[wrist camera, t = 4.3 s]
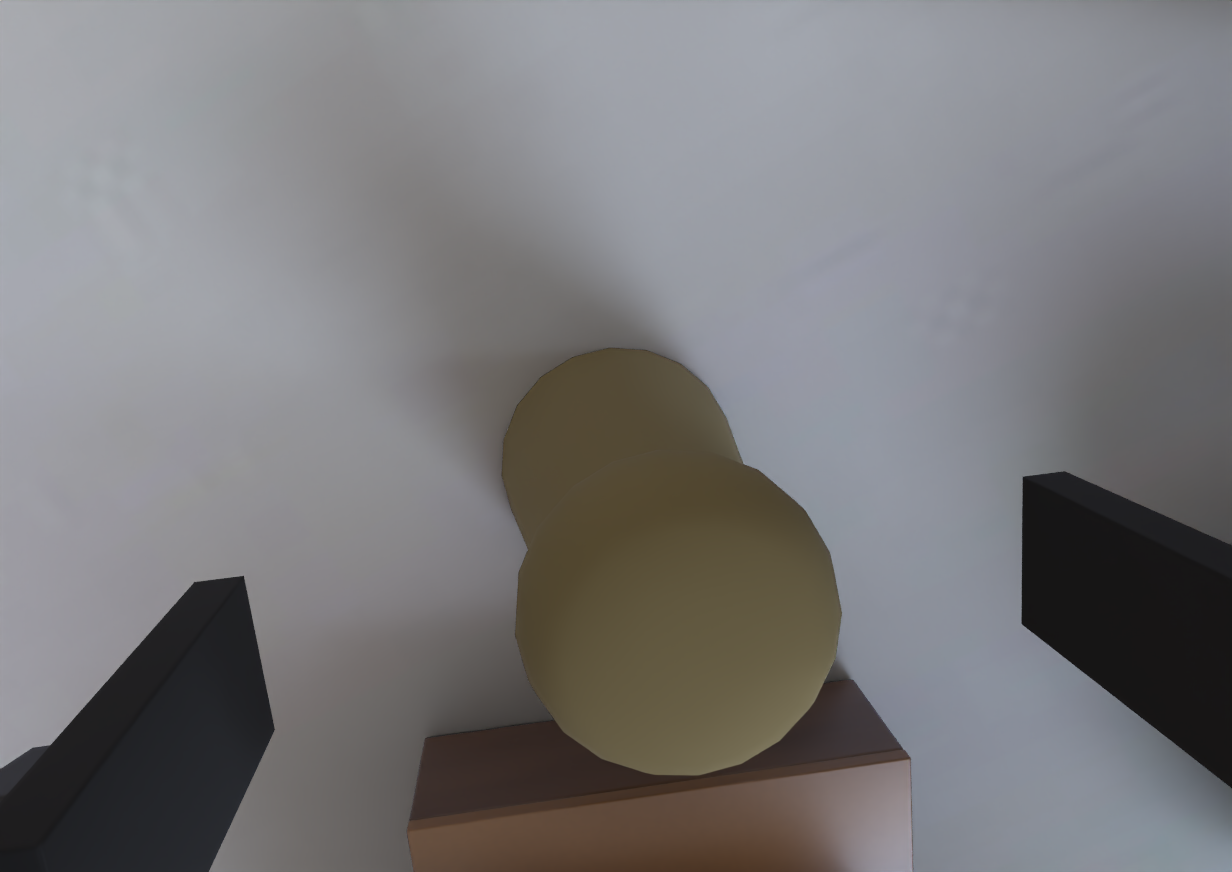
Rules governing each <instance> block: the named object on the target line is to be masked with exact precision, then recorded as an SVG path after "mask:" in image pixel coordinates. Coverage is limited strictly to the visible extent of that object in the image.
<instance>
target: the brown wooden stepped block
mask: <svg viewBox="0 0 1232 872" xmlns="http://www.w3.org/2000/svg"><path fill="white" fill-rule="evenodd" d="M407 836H408V842H409V848H410V854H411V860H412V865H413V871H414V872H913V843H912V799H911V758H910V757H909V755H908V754H907V752H906V751H905V750H903V748H902V747H901V745H900V744H899V742H898V741H897V740H896V738H895V737H894V736H893V734H892V733H891V731H890V730H889V729H888V727H887V726H886V724H885V723H884V722H883V720H882V719H881V718H880V716H879V715H878V713H877V712H876V711H875V709H874V708H873V706H872V705H871V704H870V702H869V701H868V700H867V698H866V697H865V695H864V694H863V693H862V691H861V690H860V689H859V687H858V686H857V684H856V683H855V682H854V680H843V681H836V682H829V683H823V685H822V687H821V689H820V691H819V693H818V696H817V698H816V700H815V701H814V703H813V704H812V706H811V707H810V709H809V710H808V711H807V712H806V713H805V714H804V715H803V716H802V717H801V718H800V719H799V721H798V722H797V723H796V724H795V725H794V726H793V727H792V728H791V729H790V730H789V731H788V732H787V733H786V735H785V736H784V737H783V738H782V739H781V740H780V741H779V742H777V743H775V744H774V745H772V746H770V747H769V748H767V749H765V750H764V751H762V752H760V753H759V754H757V755H755V756H754V757H752V758H750V759H749V760H747V761H745V762H744V763H742V764H739V765H735V766H732V767H728V768H724V769H721V770H717V771H713V772H710V773H706V774H702V775H653V774H648V773H644V772H641V771H638V770H635V769H632V768H629V767H625V766H622V765H619V764H616V763H613V762H610V761H606V760H603V759H601V758H599V757H598V756H596V755H595V754H594V753H592V752H591V751H589V750H588V749H587V748H585V747H584V746H582V745H581V744H580V743H578V742H577V741H575V740H574V739H573V738H571V737H570V736H568V735H567V734H565V733H564V732H563V731H562V729H561V728H560V727H559V725H558V724H557V723H556V721H555V720H553V721H546V722H539V723H532V724H524V725H517V726H510V727H503V728H495V729H488V730H481V731H474V732H466V733H459V734H452V735H445V736H437V737H430V738H426V739H425V741H424V746H423V751H422V756H421V761H420V767H419V772H418V777H417V783H416V788H415V793H414V799H413V804H412V809H411V814H410V820H409V823H408V827H407Z"/></svg>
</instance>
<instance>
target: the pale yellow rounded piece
mask: <svg viewBox="0 0 1232 872" xmlns="http://www.w3.org/2000/svg"><path fill="white" fill-rule="evenodd" d="M502 478H503V482H504V486H505V489H506V493H507V496H508V500H509V503H510V507H511V510H512V513H513V515H514V517H515V520H516V522H517V524H518V527H519V529H520V531H521V534H522V536H523V539H524V541H525V543H526V546H527V548H528V551H527V553H526V556H525V558H524V561H523V563H522V566H521V568H520V570H519V576H518V592H517V609H516V627H515V637H516V640H517V644H518V647H519V650H520V654H521V657H522V661H523V664H524V668H525V671H526V675H527V678H528V681H529V683H530V685H531V686H532V688H533V690H534V691H535V693H536V695H537V696H538V697H539V699H540V700H541V702H542V703H543V704H544V706H545V707H546V709H547V710H548V711H549V713H550V714H551V716H552V717H553V718H554V720H555V721H556V723H557V724H558V725H559V727H560V728H561V729H562V731H563V732H564V733H565V734H567V735H568V736H570V737H571V738H573V739H574V740H575V741H577V742H578V743H580V744H581V745H582V746H584V747H585V748H587V749H588V750H589V751H591V752H592V753H594V754H595V755H596V756H598V757H599V758H601V759H603V760H606V761H610V762H613V763H616V764H619V765H622V766H625V767H629V768H632V769H635V770H638V771H641V772H644V773H648V774H653V775H702V774H706V773H710V772H713V771H717V770H721V769H724V768H728V767H732V766H735V765H739V764H742V763H744V762H745V761H747V760H749V759H750V758H752V757H754V756H755V755H757V754H759V753H760V752H762V751H764V750H765V749H767V748H769V747H770V746H772V745H774V744H775V743H777V742H779V741H780V740H781V739H782V738H783V737H784V736H785V735H786V733H787V732H788V731H789V730H790V729H791V728H792V727H793V726H794V725H795V724H796V723H797V722H798V721H799V719H800V718H801V717H802V716H803V715H804V714H805V713H806V712H807V711H808V710H809V709H810V707H811V706H812V704H813V703H814V701H815V700H816V698H817V696H818V693H819V691H820V689H821V687H822V685H823V683H824V681H825V679H826V677H827V675H828V673H829V671H830V669H831V667H832V665H833V663H834V661H835V658H836V651H837V644H838V637H839V630H840V623H841V616H842V611H841V605H840V600H839V595H838V590H837V585H836V579H835V574H834V569H833V564H832V560H831V556H830V552H829V550H828V548H827V547H826V545H825V543H824V541H823V540H822V538H821V536H820V535H819V533H818V531H817V530H816V528H815V526H814V524H813V523H812V521H811V519H810V518H809V516H808V514H807V513H806V511H805V510H804V509H803V508H802V507H801V506H800V505H799V504H798V503H797V502H796V501H795V500H793V499H792V498H791V497H790V496H789V495H787V494H786V493H785V492H784V491H783V490H782V489H780V488H779V487H778V486H777V485H776V484H774V483H773V482H772V481H771V480H770V479H768V478H767V477H766V476H765V475H764V474H763V473H761V472H760V471H759V470H757V469H754V468H752V467H749V466H747V465H744V464H743V462H742V459H741V457H740V454H739V451H738V448H737V446H736V443H735V440H734V438H733V435H732V432H731V429H730V427H729V424H728V421H727V419H726V417H725V415H724V413H723V412H722V410H721V408H720V407H719V405H718V403H717V401H716V400H715V398H714V396H713V395H712V393H711V391H710V390H709V388H708V387H707V386H706V385H705V384H704V383H702V382H701V381H700V380H699V379H698V378H697V377H695V376H694V375H693V374H692V373H691V372H690V371H688V370H687V369H686V368H685V367H684V366H682V365H681V364H679V363H677V362H674V361H672V360H670V359H667V358H665V357H662V356H660V355H657V354H655V353H652V352H650V351H647V350H635V349H620V348H607V349H603V350H599V351H595V352H591V353H587V354H583V355H579V356H575V357H572V358H571V359H569V360H567V361H566V362H564V363H563V364H561V365H559V366H558V367H556V368H555V369H553V370H552V371H550V372H548V373H547V374H545V375H544V376H542V377H541V378H540V379H539V380H538V381H537V382H536V384H535V385H534V386H533V387H532V388H531V390H530V391H529V392H528V393H527V394H526V396H525V397H524V398H523V399H522V400H521V402H520V403H519V404H518V405H517V407H516V410H515V412H514V415H513V417H512V420H511V422H510V425H509V427H508V430H507V432H506V435H505V437H504V442H503V461H502Z"/></svg>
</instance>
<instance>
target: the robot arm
mask: <svg viewBox="0 0 1232 872" xmlns="http://www.w3.org/2000/svg"><path fill="white" fill-rule="evenodd" d="M1022 625H1024V626H1025V627H1026V628H1027V629H1029V630H1030V631H1031V632H1033V633H1034V634H1035V635H1036V636H1038V637H1039V638H1040V639H1042V640H1043V641H1044V642H1045V643H1047V644H1048V645H1049V646H1051V647H1052V648H1053V649H1054V650H1056V651H1057V652H1058V653H1059V654H1061V655H1062V656H1063V657H1065V658H1066V659H1067V660H1068V661H1070V662H1071V663H1072V664H1074V665H1075V666H1076V667H1077V668H1079V669H1080V670H1081V671H1083V672H1084V673H1085V674H1086V675H1088V676H1089V677H1090V678H1092V679H1093V680H1094V681H1095V682H1097V683H1098V684H1099V685H1100V686H1102V687H1103V688H1104V689H1106V690H1107V691H1108V692H1109V693H1111V694H1112V695H1113V696H1115V697H1116V698H1117V699H1118V700H1120V701H1121V702H1122V703H1124V704H1125V705H1126V706H1127V707H1129V708H1130V709H1131V710H1133V711H1134V712H1135V713H1136V714H1138V715H1139V716H1140V717H1141V718H1143V719H1144V720H1145V721H1147V722H1148V723H1149V724H1150V725H1152V726H1153V727H1154V728H1156V729H1157V730H1158V731H1159V732H1161V733H1162V734H1163V735H1165V736H1166V737H1167V738H1168V739H1170V740H1171V741H1172V742H1174V743H1175V744H1176V745H1177V746H1179V747H1180V748H1181V749H1182V750H1184V751H1185V752H1186V753H1188V754H1189V755H1190V756H1191V757H1193V758H1194V759H1195V760H1197V761H1198V762H1199V763H1200V764H1202V765H1203V766H1204V767H1206V768H1207V769H1208V770H1209V771H1211V772H1212V773H1213V774H1215V775H1216V776H1217V777H1218V778H1220V779H1221V780H1222V781H1223V782H1225V783H1226V784H1227V785H1229V786H1230V787H1231V788H1232V546H1231V545H1229V544H1227V543H1225V542H1222V541H1220V540H1218V539H1216V538H1213V537H1211V536H1209V535H1207V534H1204V533H1202V532H1200V531H1198V530H1195V529H1193V528H1191V527H1189V526H1186V525H1184V524H1182V523H1180V522H1177V521H1175V520H1173V519H1171V518H1168V517H1166V516H1164V515H1162V514H1159V513H1157V512H1155V511H1153V510H1150V509H1148V508H1146V507H1144V506H1141V505H1139V504H1137V503H1135V502H1132V501H1130V500H1128V499H1126V498H1123V497H1121V496H1119V495H1117V494H1114V493H1112V492H1110V491H1108V490H1105V489H1103V488H1101V487H1099V486H1097V485H1094V484H1092V483H1090V482H1088V481H1085V480H1083V479H1081V478H1079V477H1076V476H1074V475H1072V474H1070V473H1067V472H1065V471H1064V472H1056V473H1048V474H1040V475H1033V476H1025V477H1023V508H1022ZM274 730H275V729H274V724H273V719H272V714H271V709H270V704H269V699H268V694H267V689H266V684H265V679H264V674H263V669H262V664H261V659H260V654H259V649H258V644H257V639H256V634H255V630H254V625H253V620H252V615H251V610H250V605H249V600H248V595H247V590H246V585H245V580H244V576H240V577H232V578H224V579H216V580H208V581H201V582H194V583H193V585H192V586H191V587H190V588H189V589H188V590H187V591H186V593H185V594H184V595H183V596H182V597H181V598H180V599H179V600H178V602H177V603H176V604H175V605H174V606H173V607H172V608H171V609H170V611H169V612H168V613H167V614H166V615H165V616H164V617H163V619H162V620H161V621H160V622H159V623H158V624H157V625H156V626H155V628H154V629H153V630H152V631H151V632H150V633H149V634H148V636H147V637H146V638H145V639H144V640H143V641H142V642H141V643H140V645H139V646H138V647H137V648H136V649H135V650H134V651H133V652H132V654H131V655H130V656H129V657H128V658H127V659H126V660H125V662H124V663H123V664H122V665H121V666H120V667H119V668H118V669H117V671H116V672H115V673H114V674H113V675H112V676H111V677H110V679H109V680H108V681H107V682H106V683H105V684H104V685H103V686H102V688H101V689H100V690H99V691H98V692H97V693H96V694H95V696H94V697H93V698H92V699H91V700H90V701H89V702H88V703H87V705H86V706H85V707H84V708H83V709H82V710H81V711H80V712H79V714H78V715H77V716H76V717H75V718H74V719H73V720H72V722H71V723H70V724H69V725H68V726H67V727H66V728H65V729H64V731H63V732H62V733H61V734H60V735H59V736H58V737H57V739H56V740H55V741H54V742H53V743H52V744H51V745H50V746H42V747H35V748H32V749H30V750H29V751H27V752H26V753H24V754H23V755H21V756H20V757H18V758H17V759H15V760H14V761H12V762H11V763H9V764H8V765H6V766H5V767H3V768H2V769H0V872H209V870H210V868H211V865H212V863H213V861H214V859H215V857H216V855H217V853H218V850H219V848H220V846H221V844H222V842H223V840H224V838H225V835H226V833H227V831H228V829H229V827H230V825H231V823H232V820H233V818H234V816H235V814H236V812H237V810H238V807H239V805H240V803H241V801H242V799H243V797H244V795H245V792H246V790H247V788H248V786H249V784H250V782H251V780H252V777H253V775H254V773H255V771H256V769H257V767H258V765H259V762H260V760H261V758H262V756H263V754H264V752H265V750H266V747H267V745H268V743H269V741H270V739H271V737H272V735H273V732H274Z"/></svg>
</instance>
